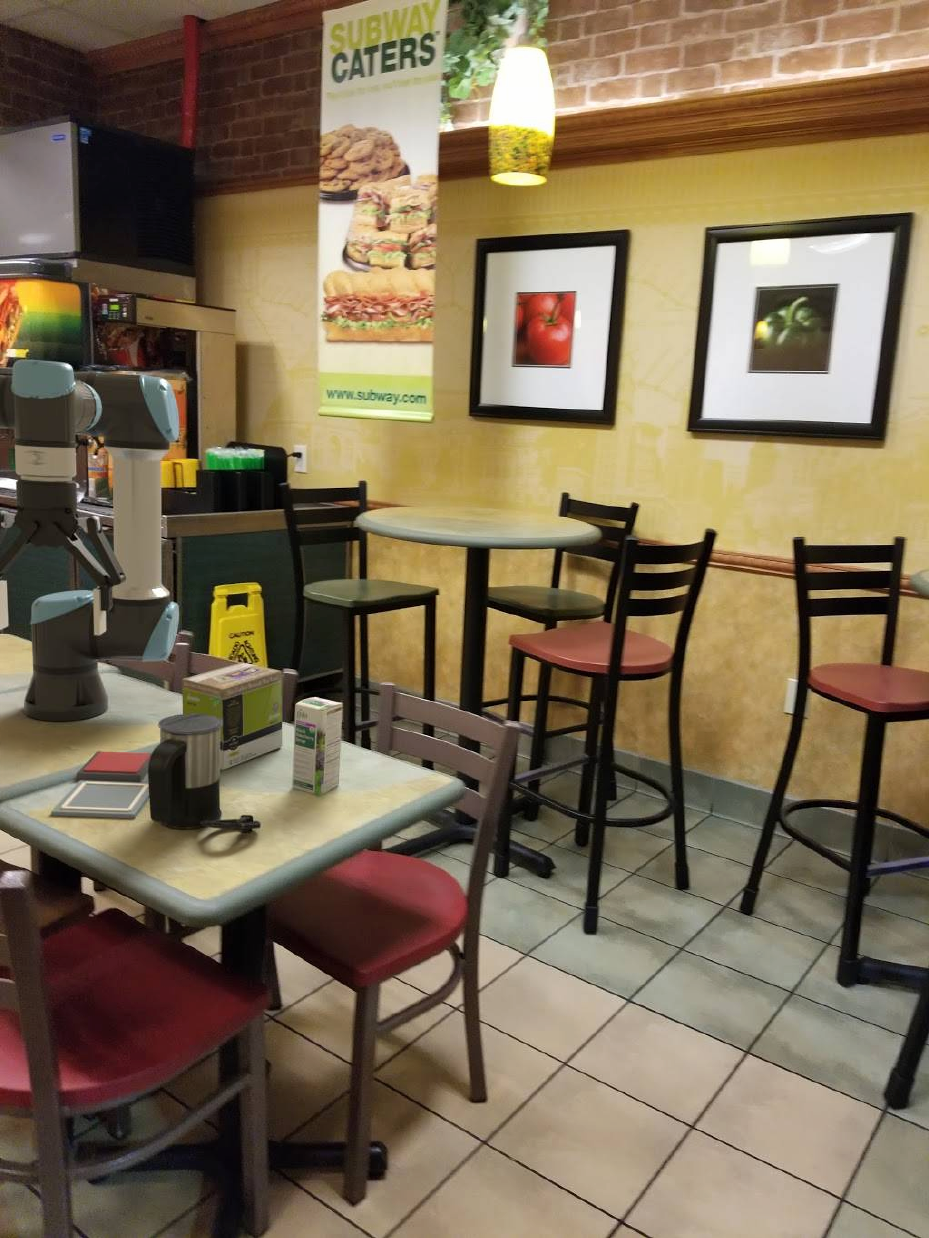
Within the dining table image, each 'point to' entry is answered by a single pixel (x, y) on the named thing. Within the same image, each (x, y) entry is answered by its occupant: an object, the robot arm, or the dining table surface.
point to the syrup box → (317, 745)
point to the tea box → (239, 708)
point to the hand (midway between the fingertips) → (51, 630)
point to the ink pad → (115, 767)
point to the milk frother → (189, 775)
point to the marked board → (104, 799)
